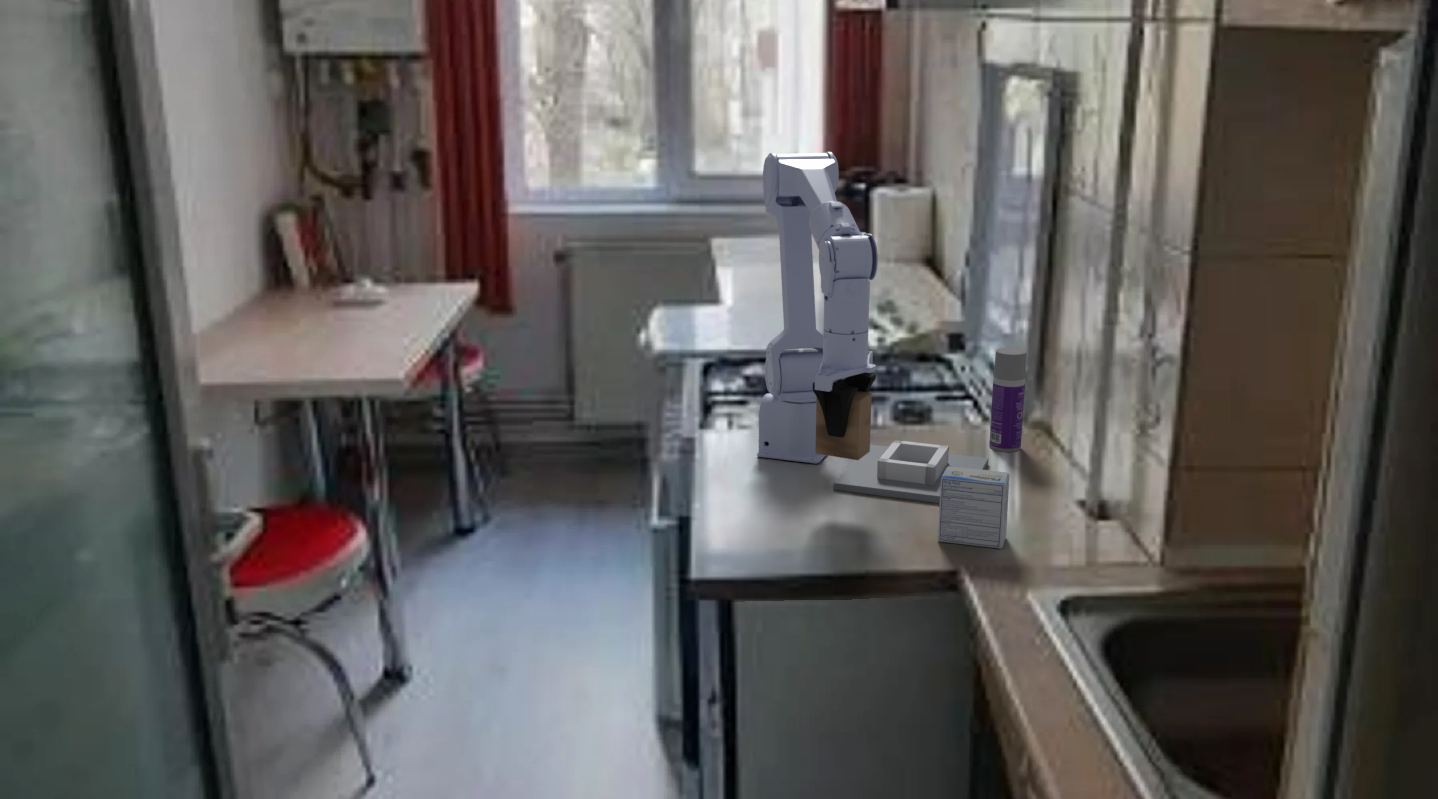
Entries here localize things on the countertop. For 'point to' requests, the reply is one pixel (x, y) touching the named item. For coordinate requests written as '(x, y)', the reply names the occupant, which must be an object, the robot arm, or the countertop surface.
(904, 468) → the socket plate
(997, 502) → the medicine box
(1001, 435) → the container
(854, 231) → the robot arm
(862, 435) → the walnut peg
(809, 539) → the countertop surface
